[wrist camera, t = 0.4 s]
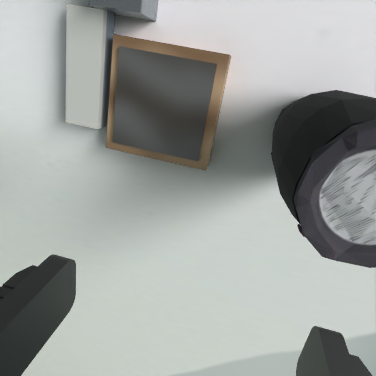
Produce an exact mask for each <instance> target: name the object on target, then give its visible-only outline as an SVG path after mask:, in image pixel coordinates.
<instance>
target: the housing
mask: <svg viewBox="0 0 376 376" xmlns="http://www.w3.org/2000/svg"><path fill="white" fill-rule="evenodd" d="M89 5H92V6H94V7H96V8H99V9H103V10H106V11H108V12H110V13H113V14H115V15H121V16H127V17H133V18H139V19H146V20H152V21H156V17H157V8H158V0H89Z"/></svg>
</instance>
